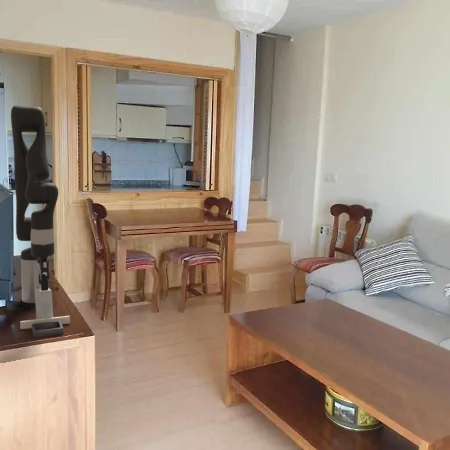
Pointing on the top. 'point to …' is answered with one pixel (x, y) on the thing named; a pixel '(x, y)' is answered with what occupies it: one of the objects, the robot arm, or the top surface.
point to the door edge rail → (29, 323)
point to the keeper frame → (47, 331)
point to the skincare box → (43, 303)
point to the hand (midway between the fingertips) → (43, 287)
